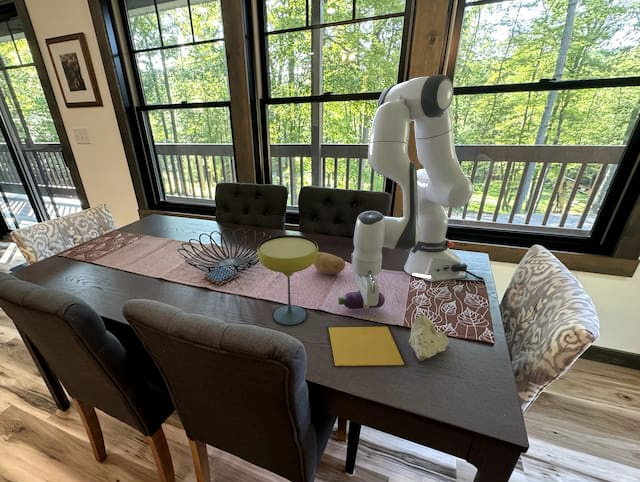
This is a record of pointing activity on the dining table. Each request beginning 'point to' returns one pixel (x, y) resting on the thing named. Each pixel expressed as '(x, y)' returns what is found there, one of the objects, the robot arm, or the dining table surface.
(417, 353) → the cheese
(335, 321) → the dining table surface
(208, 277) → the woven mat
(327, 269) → the potato
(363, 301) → the eggplant
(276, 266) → the cocktail glass
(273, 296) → the dining table surface
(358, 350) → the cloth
